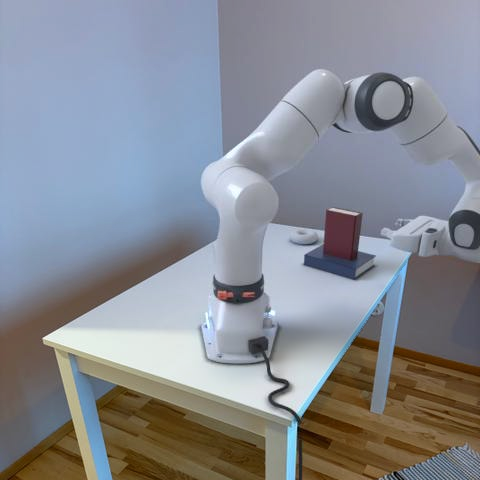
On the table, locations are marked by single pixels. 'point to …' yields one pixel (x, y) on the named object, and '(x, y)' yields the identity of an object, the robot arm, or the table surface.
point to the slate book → (339, 263)
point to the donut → (303, 236)
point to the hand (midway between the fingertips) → (389, 226)
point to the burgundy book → (342, 233)
